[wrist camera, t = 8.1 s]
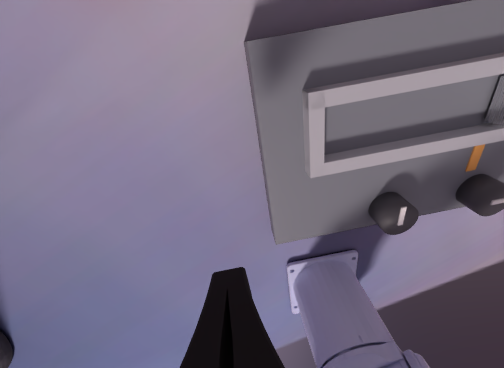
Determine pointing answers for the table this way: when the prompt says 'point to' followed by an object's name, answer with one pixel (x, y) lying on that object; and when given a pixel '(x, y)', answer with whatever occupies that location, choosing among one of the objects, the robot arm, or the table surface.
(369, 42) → the console board
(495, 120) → the fader tab
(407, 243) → the table surface
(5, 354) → the planter
